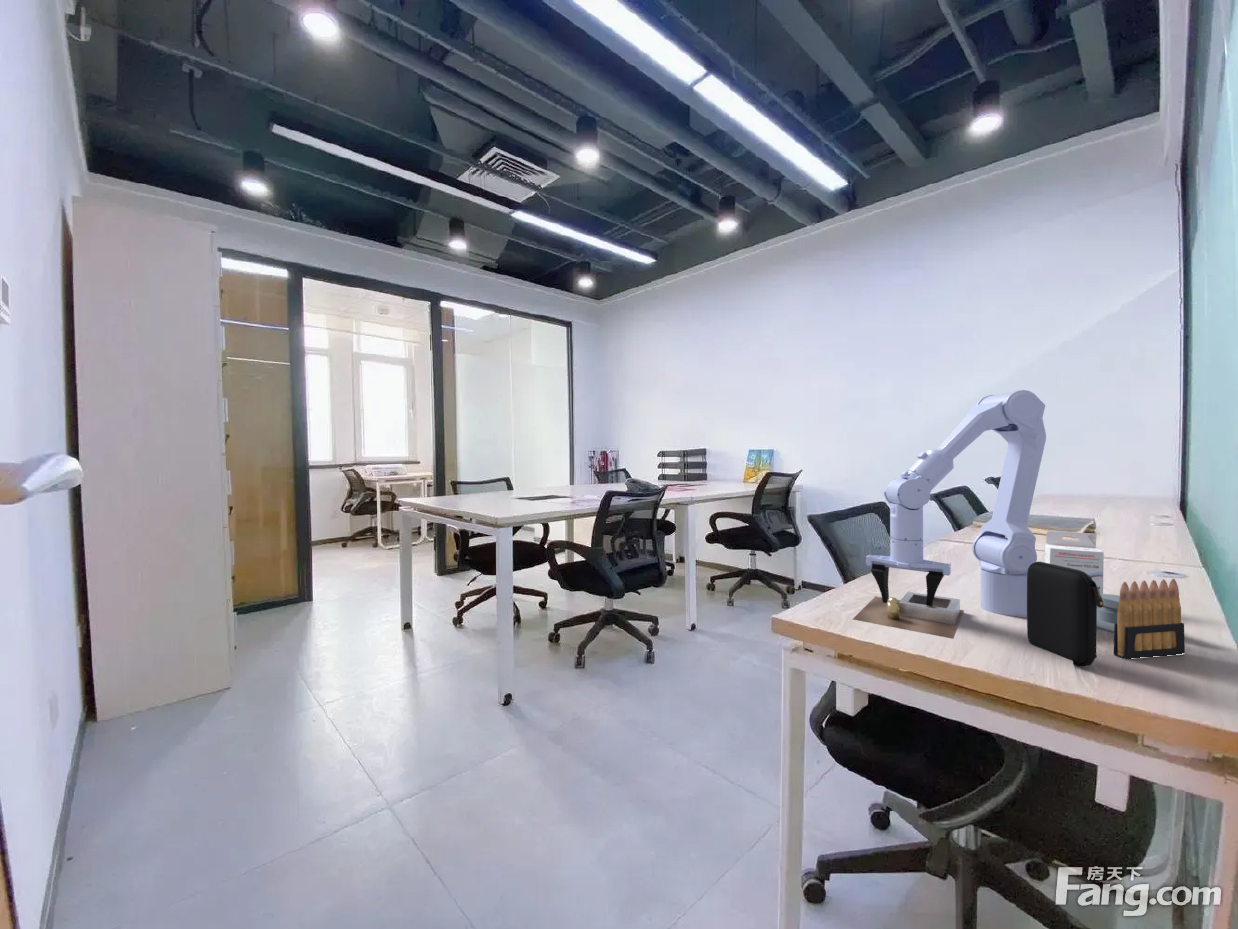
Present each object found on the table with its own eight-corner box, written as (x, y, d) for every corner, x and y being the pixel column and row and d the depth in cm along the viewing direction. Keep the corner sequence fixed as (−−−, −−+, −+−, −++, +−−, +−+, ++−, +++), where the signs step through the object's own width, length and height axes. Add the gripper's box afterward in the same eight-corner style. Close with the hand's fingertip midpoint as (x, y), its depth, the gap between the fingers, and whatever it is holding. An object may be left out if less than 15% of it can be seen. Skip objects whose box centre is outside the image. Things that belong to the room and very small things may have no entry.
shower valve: (1145, 614, 81) (1049, 589, 95) (1145, 646, 81) (1049, 616, 96) (1200, 607, 83) (1099, 584, 98) (1200, 638, 83) (1098, 611, 98)
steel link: (960, 611, 95) (959, 599, 95) (954, 625, 89) (954, 611, 89) (907, 603, 101) (907, 591, 101) (898, 615, 94) (898, 602, 94)
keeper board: (963, 615, 96) (963, 610, 96) (952, 644, 83) (952, 638, 83) (875, 600, 107) (875, 596, 107) (852, 624, 93) (852, 619, 93)
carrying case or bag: (1110, 674, 71) (1110, 574, 70) (1092, 676, 70) (1092, 575, 70) (1037, 645, 81) (1036, 558, 81) (1021, 647, 81) (1021, 559, 80)
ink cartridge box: (1048, 602, 103) (1048, 533, 102) (1043, 596, 107) (1043, 530, 107) (1104, 608, 98) (1104, 536, 98) (1096, 601, 103) (1096, 532, 102)
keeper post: (900, 617, 93) (900, 597, 93) (898, 620, 91) (897, 599, 91) (888, 615, 94) (888, 595, 94) (886, 618, 93) (886, 598, 93)
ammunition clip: (1126, 660, 75) (1126, 583, 75) (1112, 655, 77) (1112, 580, 77) (1185, 655, 76) (1186, 580, 76) (1170, 650, 78) (1171, 577, 78)
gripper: (862, 537, 99) (862, 603, 99) (947, 545, 89) (947, 618, 90) (870, 532, 104) (871, 595, 104) (951, 539, 95) (952, 608, 95)
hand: (906, 605), depth 97 cm, fingers open, 7 cm apart
